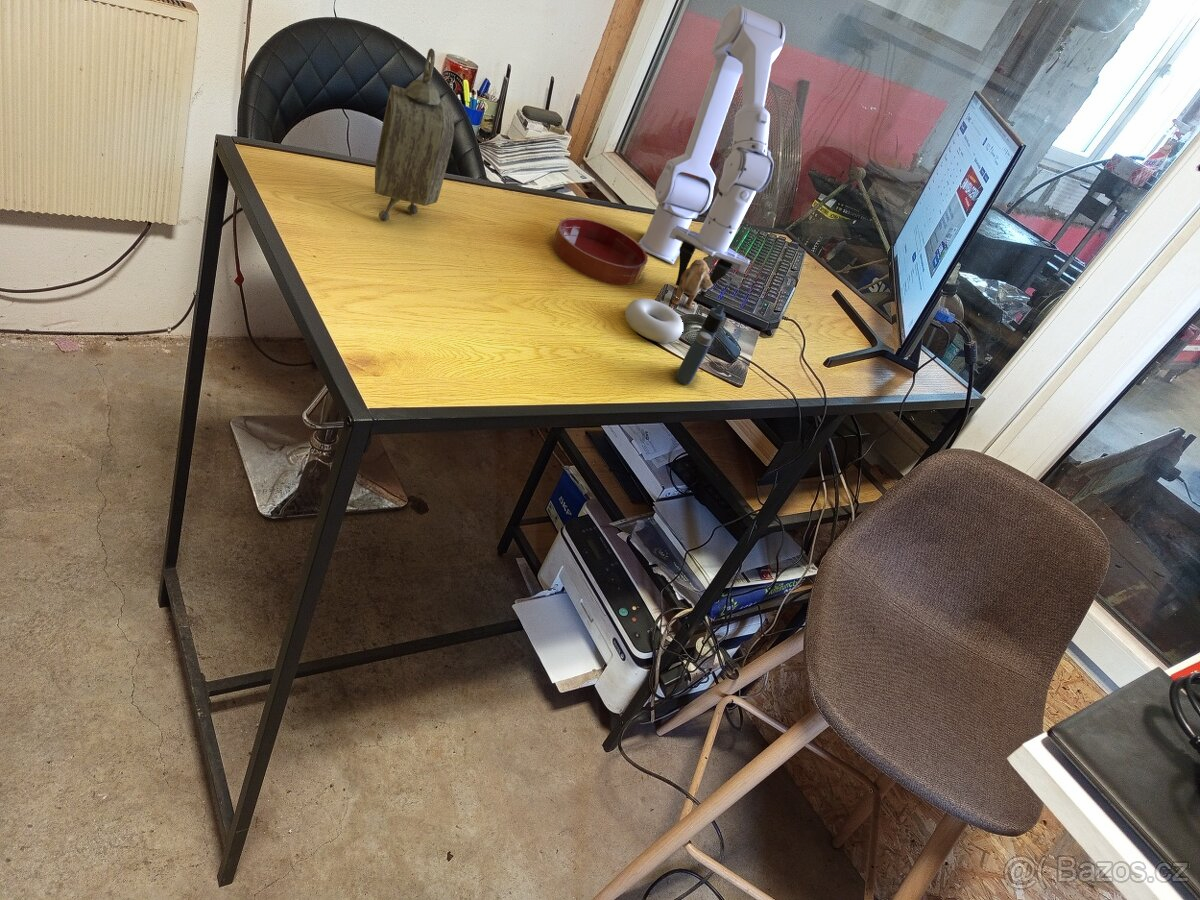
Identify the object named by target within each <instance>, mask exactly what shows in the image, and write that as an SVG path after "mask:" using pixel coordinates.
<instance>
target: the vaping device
mask: <svg viewBox="0 0 1200 900" xmlns="http://www.w3.org/2000/svg"><path fill="white" fill-rule="evenodd" d="M724 310H725V307H724V306H723V305H721V304H717V306H716V307H711V308H710V310H709V312H708V314H707V316H706V318H705V320H704V321H703V324H702V325H701V328H700V329H699V331H698V332H697V334H696V336H695V337H694V340H693V342H692V343H691V344H690V346H689V348H688V350H687V352H686V354H685V356H684V358H683V360H682V362H681V364H680V366H679V368H678V370H677V371H676V375H675V379H676V381H677V382H678V383H680V384H683V385H685V386H686V385H690V384H691V382H692V381H693V380H694V378H695V377H696V374H697V372H698V371H699V369H700V367H701V366H702V365H701V364H702V363H703V361H704V359H705V357H706V355H707V354H708V350H709V349H710V346H711V345H712V343H713V341H714V339H715V337H716V335H717V333H718V331H719V329H720V327H721V325H722V323H723V322H724V320H725V318H726V313H725V312H724Z"/></svg>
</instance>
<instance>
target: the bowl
mask: <svg viewBox="0 0 1200 900" xmlns="http://www.w3.org/2000/svg"><path fill="white" fill-rule="evenodd" d="M638 243H639V242H637V241H636V240H634V239H633V238H632V237H630V236H629V235H627V234H625V233H624V232H622V231H620V230H619V229H616V228H615V227H613V226H610V225H607V224H605V223H602V222H599V221H596V220H592V219H588V218H583V217H567V218H564V219H562V220H560V221H559V222H558V224H557V227H556V229H555V232H554V235H553V238H552V242H551V247H552V250H553V252H554V254H555V255H556V256H557V257H558V258H559V259H560V260H561V261H562V262H563V263H564V264H566V265H567V266H569V267H570V268H572V269H573V270H574V271H577V272H579V273H580V274H582V275H585V276H586V277H589V278H591V279H594V280H596V281H600V282H602V283H607V284H611V285H617V286H626V285H627V286H628V285H633V284H636V283H637V282H638V281H640V278H641V277H642V275H643V272H644V270H645V268H646V266H647V263H648V261H649V259H648V254H647V252H646V251H644V249H643V248H642V247H641V246H640V245H639V244H638Z"/></svg>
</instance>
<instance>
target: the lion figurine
mask: <svg viewBox="0 0 1200 900" xmlns="http://www.w3.org/2000/svg"><path fill="white" fill-rule="evenodd" d="M710 270H711V269H710V268H709V267H708V263H707V262H706V261H705V260H704V259H695V260H694V261H693V262H691V264H690V265H689V267H687V269H686V270H685V271H684V272H683V274H682V276H681V280H680V284H679V286H677V287H676V293H675V296H674V298H673V299H672V300H671V303H672V304H674V305H678V304H679V303H680V301H681V296H682V294H683V293H684V294H686V295H688V296H689V297H688V298H687V300H686V301H685V307H686V309H689V310H691V309H693V308H694V307H693V301H694V299H695V298H696V297H697V295H698V293H701V292H702V290H703V291H704V292H706V291H707V289H709V288H710V289H711V288H712V287H713V286H714V285H713V284H712V282H711V280H710V276H711V275H710V274H709V272H710ZM710 289H709V290H710ZM707 292H708V291H707ZM676 296H677V297H678V298H679V299H678V298H676Z"/></svg>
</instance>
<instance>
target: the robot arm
mask: <svg viewBox="0 0 1200 900" xmlns="http://www.w3.org/2000/svg"><path fill="white" fill-rule="evenodd" d="M785 39H786V27H785V24H784V22H782V21H779V20H778V21H777V20H774V19H773V18H770V17H768V16H766V15H763V14H761V13H759V12H756V11H753V10H752V9H749V8H746V7H744V6H743V5H742V4H739V3H736V4H734V5H733V6H732V7H730V8H729V9H728V11H727V12H726V13H725V14H724V15H723V17H722V19H721V21H720V24H719V27H718V29H717V32H716V37H715V39H714V42H713V47H712V50H711V54H712V55H713V57H714V58H715V61H714V65H713V68H712V70H711V74H710V76H709V79H708V83H707V86H706V89H705V92H704V95H703V97H702V99H701V104H700V106H699V109H698V112H697V115H696V118H695V121H694V123H693V124H694V125H693V127H692V129H691V133H690V136H689V139H688V142H687V144H686V148H685V151H684V153H683V154H680V155H679V156H676V157H673V158H670V159H669V160H666V163H665V165H664V168H663V170H662V172H661V174H660V175H659V177H658V179H657V181H656V185H655V190H654V196H655V200H656V202H657V206H656V209H655V211H654V213H653V215H652V218H651V220H650V222H649V225H648V227H647V229H646V232H645V233H644V234H643V236H642V237H641V238H640V240H639V241H638V242H637V243H638V244H639V245H640V246H641V247H642V248H643V249H644V251H645V252H646V253H648V254H650V255H651V256H654V257H656V258H657V259H659V260H663V261H665V262H667V263H669V264H671V265H674V264H675V262H676V260H677V259H678V258H679V267H678V273H677V279H676V282H675V286H677V287H678V286H679V284H680V280H681V276H682V274H683V272H684V271H685V270H686V269H687V268H688V266H689V263H690V262H691V259H692V257H693V255H694V253H695V251H696V250H698V251H699V252H702V253H704V254H706V255H708V256H710V257H712V258H714V259H717V262H716V264H715V266H714V268H713V270H712V272H711V274H710V275H709V276H710V280H711V282H712V284H713V286H715V284H716V283H718V281H720V280H721V279H722V278H723V277H725V276H727V275H728V273H730V271H731V269H732V267H733V268H735V269H737V270H738V271H739V272H740V273H741V274H742V273H743V274H745V272H746V271H747V269H748V267H749V265H750V263H751V259H749V258H747V257H745V256H743V255H741V254H740V253H738V252H737V251H735V250H734V249H732V248H731V247H730V245H731V244H732V241H733V240H734V237H735V235H736V233H737V232H738V229H739V228H740V226H741V224H742V222H743V220H744V218H745V215H746V214H747V212H748V210H749V207H750V205H751V204H752V201H753V200H754V198H755V196H756V194H757V193H761V192H763V191H764V190H765V189H766V188H767V187H768V185H769V184H770V182H771V180H772V177H773V174H774V168H775V162H774V159H773V158H772V156H771V155H772V152H771V150H769V149H768V146H769V136H770V135H769V134H770V122H771V114H770V112H769V110H767V109H766V107H765V105H766V99H767V94H768V93H767V92H768V87H769V82H770V76H771V70H772V66H773V65H772V64H773V63H774V62H775V61H776V60H777V58H778V56H779V55H780V53H781V51H782V49H783V47H784V42H785ZM741 75H742V107H741V108H740V109H738V110H737V112H735V115H734V122H733V123H734V124H733V134H732V144H731V145H732V146H731V152H730V153H729V155H728V157H726V158H725V161H724V164H723V167H722V174H721V177H720V180H719V182H718V185H717V187H718V189H719V190H718V192H717V194H716V195H715V198H714V200H713V196H714V189H715V188H714V187H715V184H716V180H717V176H716V174H715V173H714V171H713V169H712V167H711V165H710V163H711V160H712V157H713V154H714V152H715V149H716V145H717V143H718V140H719V137H720V135H721V131H722V129H723V125H724V123H725V120H726V116H727V115H728V112H729V108H730V106H731V104H732V100H733V97H734V94H735V92H736V89H737V86H738V83H739V80H740V77H741ZM684 173H686V174H684ZM688 174H689V175H688ZM690 175H692V176H690ZM694 176H695V177H694ZM697 177H699V178H697ZM712 201H713V202H712ZM711 203H712V204H711ZM710 206H711V207H710ZM709 207H710V208H709ZM708 209H709V210H708ZM707 210H708V213H707V215H706V217H705V219H704V221H703V224H702V225H701V227H700V230H699V231H698V232H696V231H693V230H690V229H689V228H690V225H691V224H692V220H693V219H697V218H698V217H699V215H702V214H704V213H705V212H707ZM710 289H711V288H709V289H707V291H706V292H704V291H703V290H702V289H701V291H700V294H699V298H703V299H704V298H705V296H706V294H707V292H708V291H710Z"/></svg>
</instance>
